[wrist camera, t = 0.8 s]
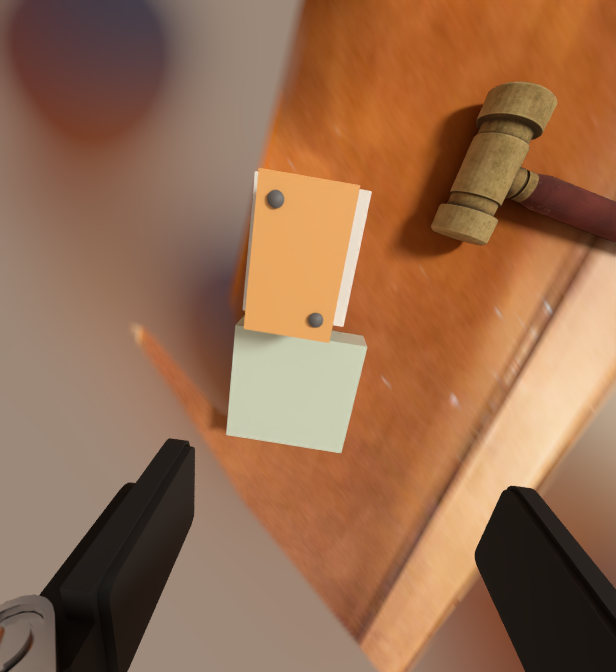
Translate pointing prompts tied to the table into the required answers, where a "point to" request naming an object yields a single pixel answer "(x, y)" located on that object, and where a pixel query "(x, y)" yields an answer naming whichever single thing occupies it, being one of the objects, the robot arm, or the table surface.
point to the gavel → (515, 172)
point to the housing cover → (298, 254)
